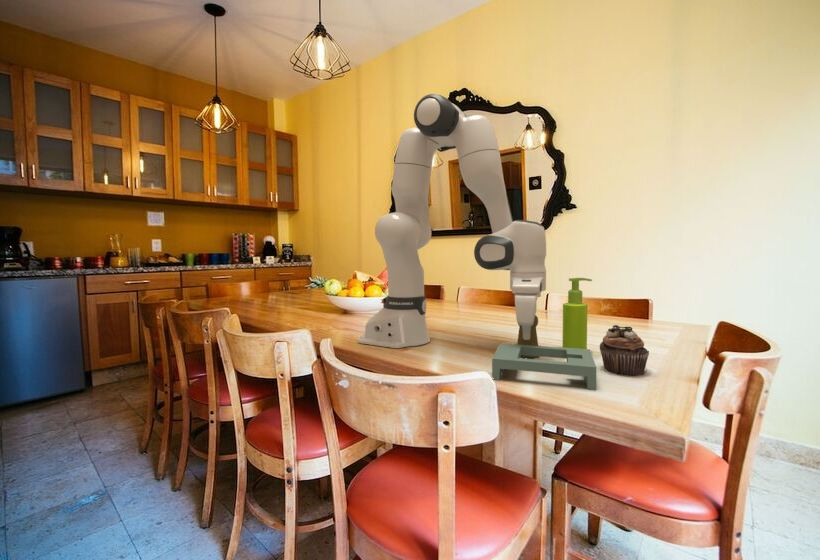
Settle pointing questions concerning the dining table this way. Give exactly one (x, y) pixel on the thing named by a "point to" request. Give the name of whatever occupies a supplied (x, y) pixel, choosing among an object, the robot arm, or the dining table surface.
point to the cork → (533, 338)
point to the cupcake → (623, 352)
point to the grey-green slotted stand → (545, 361)
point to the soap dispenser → (575, 318)
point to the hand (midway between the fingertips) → (527, 336)
